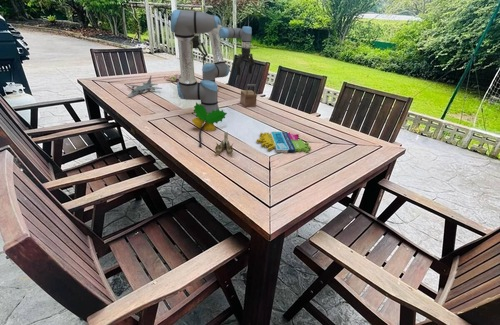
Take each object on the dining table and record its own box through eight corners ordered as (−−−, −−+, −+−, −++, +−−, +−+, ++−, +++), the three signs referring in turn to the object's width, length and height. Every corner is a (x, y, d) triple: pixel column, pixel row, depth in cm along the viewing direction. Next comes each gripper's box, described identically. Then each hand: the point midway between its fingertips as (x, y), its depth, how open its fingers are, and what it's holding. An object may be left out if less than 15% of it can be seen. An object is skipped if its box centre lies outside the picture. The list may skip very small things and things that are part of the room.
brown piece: (257, 96, 206) (257, 84, 201) (245, 96, 203) (246, 84, 198) (251, 91, 217) (252, 80, 213) (240, 91, 214) (241, 80, 210)
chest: (255, 106, 211) (256, 96, 206) (244, 107, 208) (245, 96, 204) (250, 102, 221) (251, 91, 217) (240, 102, 219) (240, 91, 214)
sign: (313, 150, 142) (258, 149, 139) (312, 153, 143) (258, 152, 140) (301, 132, 164) (254, 130, 161) (301, 134, 165) (254, 133, 162)
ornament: (218, 133, 171) (224, 110, 169) (221, 134, 163) (227, 111, 161) (186, 125, 162) (192, 101, 160) (189, 126, 155) (195, 101, 153)
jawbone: (234, 135, 144) (233, 125, 135) (233, 160, 138) (232, 151, 129) (217, 135, 144) (216, 125, 135) (216, 160, 138) (214, 150, 129)
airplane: (121, 87, 235) (119, 76, 230) (157, 85, 248) (156, 74, 243) (125, 100, 206) (123, 87, 201) (166, 97, 219) (165, 85, 214)
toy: (196, 71, 285) (184, 76, 259) (196, 78, 288) (184, 83, 262) (173, 69, 290) (158, 73, 264) (173, 75, 293) (159, 80, 267)
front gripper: (210, 35, 203) (211, 64, 213) (178, 33, 201) (179, 62, 211) (210, 36, 197) (210, 66, 207) (176, 34, 194) (178, 64, 205)
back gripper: (237, 48, 205) (236, 76, 216) (259, 47, 221) (257, 73, 231) (231, 47, 210) (230, 74, 220) (253, 46, 225) (251, 72, 236)
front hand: (195, 64), depth 209 cm, fingers open, 13 cm apart
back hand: (244, 74), depth 226 cm, fingers open, 13 cm apart
